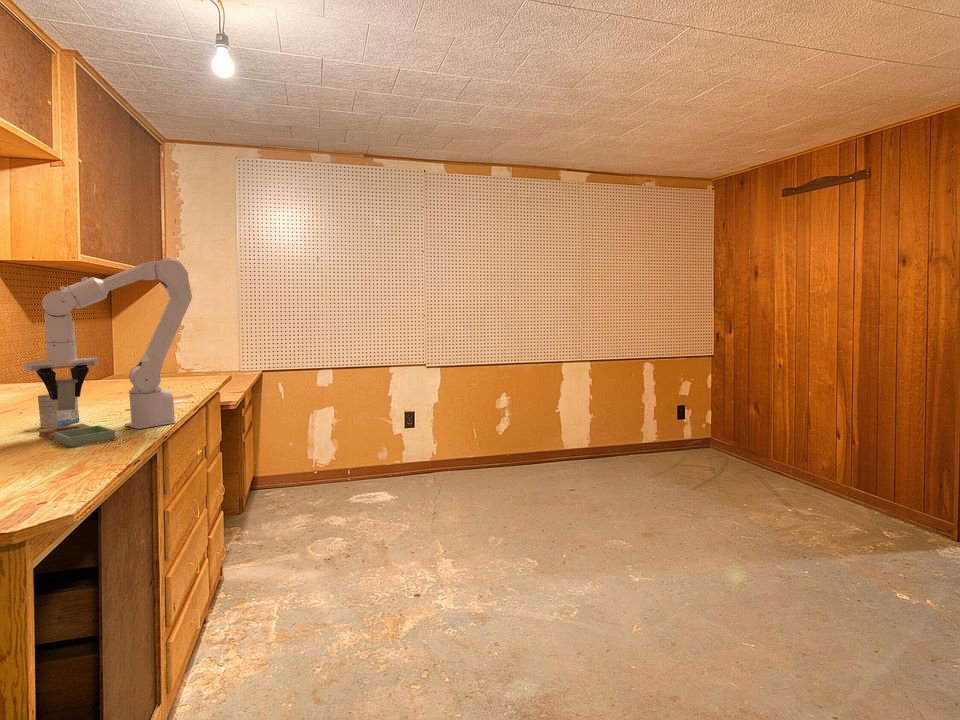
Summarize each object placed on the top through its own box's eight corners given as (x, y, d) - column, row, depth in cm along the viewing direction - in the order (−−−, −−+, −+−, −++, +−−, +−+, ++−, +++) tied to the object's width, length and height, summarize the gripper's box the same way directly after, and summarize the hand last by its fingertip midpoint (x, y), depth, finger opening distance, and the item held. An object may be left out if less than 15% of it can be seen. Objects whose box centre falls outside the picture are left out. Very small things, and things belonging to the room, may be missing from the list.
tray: (99, 434, 135) (99, 425, 135) (115, 439, 129) (114, 430, 129) (54, 441, 127) (53, 432, 127) (68, 447, 122) (67, 438, 122)
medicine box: (57, 428, 141) (54, 395, 140) (39, 428, 141) (37, 395, 140) (80, 422, 148) (77, 390, 148) (63, 422, 148) (61, 390, 148)
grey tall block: (71, 407, 137) (71, 377, 137) (77, 409, 134) (77, 379, 134) (49, 408, 133) (50, 378, 133) (56, 410, 131) (56, 380, 131)
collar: (82, 428, 141) (82, 423, 141) (96, 433, 136) (96, 428, 136) (39, 434, 134) (38, 429, 134) (51, 440, 129) (51, 435, 128)
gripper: (89, 339, 141) (93, 392, 142) (17, 343, 129) (22, 400, 131) (100, 340, 136) (104, 395, 138) (27, 344, 125) (32, 403, 126)
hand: (65, 397), depth 134 cm, fingers closed on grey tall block, 4 cm apart
